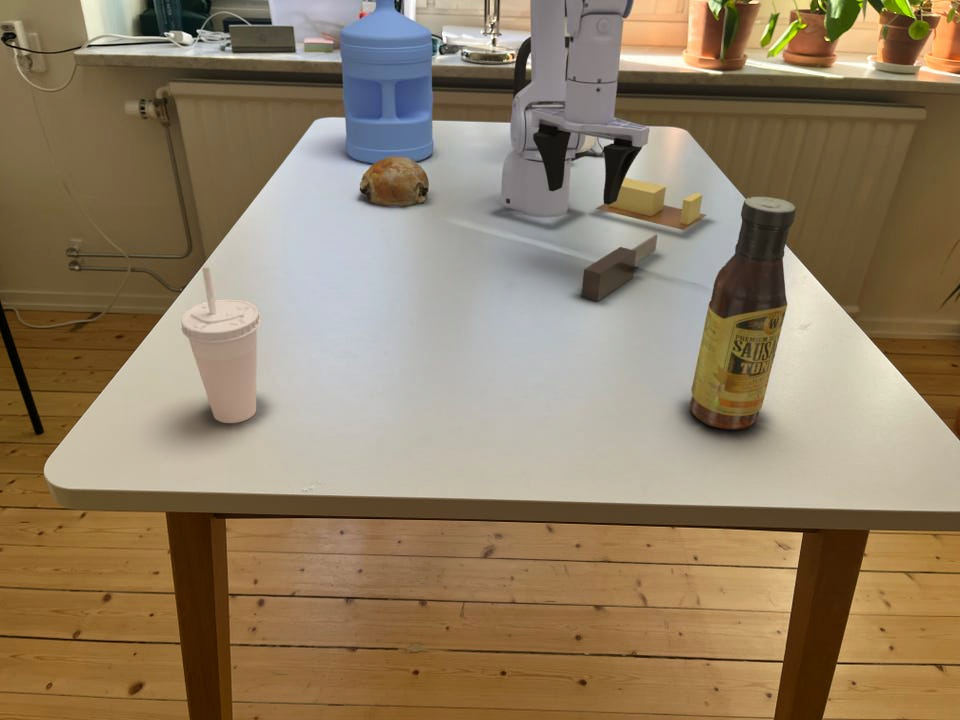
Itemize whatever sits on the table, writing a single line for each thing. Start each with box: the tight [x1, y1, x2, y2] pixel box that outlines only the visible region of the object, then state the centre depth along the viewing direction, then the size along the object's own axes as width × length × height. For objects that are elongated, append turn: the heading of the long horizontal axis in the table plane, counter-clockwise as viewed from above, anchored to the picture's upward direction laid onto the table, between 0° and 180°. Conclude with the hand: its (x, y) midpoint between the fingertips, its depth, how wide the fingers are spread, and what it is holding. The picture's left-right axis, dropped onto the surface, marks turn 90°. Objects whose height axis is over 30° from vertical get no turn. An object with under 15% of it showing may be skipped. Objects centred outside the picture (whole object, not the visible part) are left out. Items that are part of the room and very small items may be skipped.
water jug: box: [339, 0, 435, 165], centre depth 140 cm, size 16×16×28 cm
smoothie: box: [180, 265, 262, 424], centre depth 70 cm, size 6×6×14 cm
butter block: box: [608, 177, 667, 216], centre depth 120 cm, size 7×4×4 cm, turn 54°
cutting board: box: [595, 203, 707, 231], centre depth 120 cm, size 14×8×1 cm, turn 54°
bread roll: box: [359, 157, 430, 207], centre depth 125 cm, size 10×10×8 cm
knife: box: [580, 234, 658, 302], centre depth 100 cm, size 2×17×4 cm, turn 144°
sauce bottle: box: [689, 196, 797, 431], centre depth 69 cm, size 6×6×20 cm
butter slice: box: [680, 192, 703, 225], centre depth 116 cm, size 1×4×4 cm, turn 144°
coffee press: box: [512, 0, 604, 157], centre depth 141 cm, size 17×16×30 cm
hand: (582, 195), depth 99 cm, fingers open, 7 cm apart
